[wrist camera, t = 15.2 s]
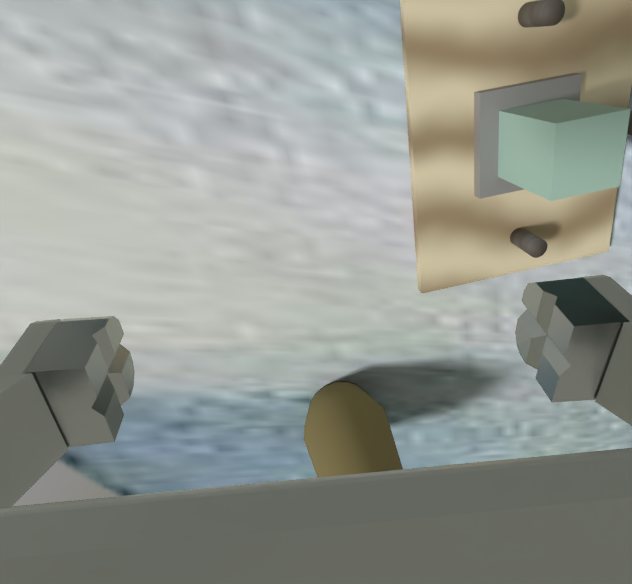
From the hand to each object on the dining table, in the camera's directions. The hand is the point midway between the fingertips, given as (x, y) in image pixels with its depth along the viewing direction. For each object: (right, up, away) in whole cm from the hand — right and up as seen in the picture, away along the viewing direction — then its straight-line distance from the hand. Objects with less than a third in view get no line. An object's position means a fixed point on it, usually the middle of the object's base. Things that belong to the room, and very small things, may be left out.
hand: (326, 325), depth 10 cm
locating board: (+16, +13, +30) cm, 36 cm away
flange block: (+16, +13, +29) cm, 35 cm away
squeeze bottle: (+2, -10, +39) cm, 40 cm away
